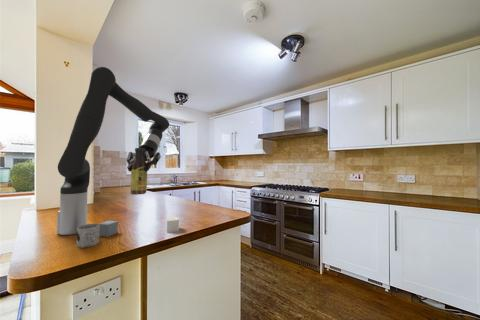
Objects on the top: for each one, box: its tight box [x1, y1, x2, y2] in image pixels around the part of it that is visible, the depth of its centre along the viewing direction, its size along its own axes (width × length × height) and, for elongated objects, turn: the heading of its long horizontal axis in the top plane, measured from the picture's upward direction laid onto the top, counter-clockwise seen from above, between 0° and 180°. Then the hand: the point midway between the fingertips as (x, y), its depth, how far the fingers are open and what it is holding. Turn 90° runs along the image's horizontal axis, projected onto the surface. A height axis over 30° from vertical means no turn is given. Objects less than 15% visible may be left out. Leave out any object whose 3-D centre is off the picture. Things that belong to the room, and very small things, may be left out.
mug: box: [76, 223, 100, 249], centre depth 72 cm, size 10×7×7 cm, turn 24°
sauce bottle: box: [129, 147, 148, 196], centre depth 84 cm, size 6×6×20 cm
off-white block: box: [166, 216, 180, 233], centre depth 90 cm, size 5×5×5 cm
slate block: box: [98, 220, 119, 238], centre depth 84 cm, size 5×5×5 cm
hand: (137, 170), depth 83 cm, fingers closed on sauce bottle, 6 cm apart
